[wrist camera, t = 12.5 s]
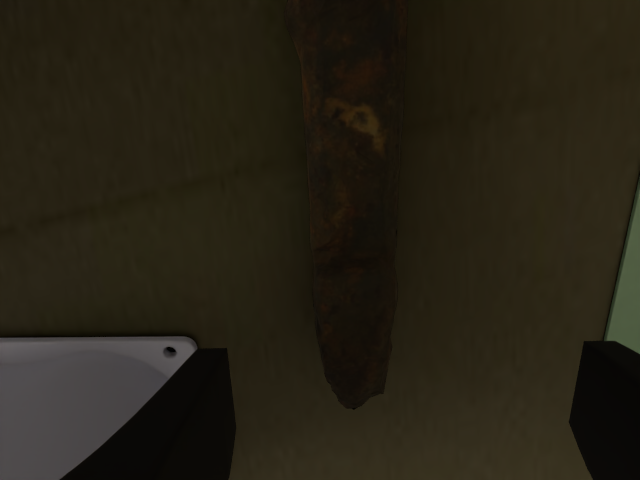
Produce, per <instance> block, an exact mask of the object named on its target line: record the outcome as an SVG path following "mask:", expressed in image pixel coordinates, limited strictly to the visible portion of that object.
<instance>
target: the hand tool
mask: <svg viewBox="0 0 640 480" xmlns="http://www.w3.org/2000/svg"><path fill="white" fill-rule="evenodd" d="M407 14H408V0H288V2H287V5H286V8H285V11H284V16H285V22H286V27H287V29H288V31H289V34H290V36H291V38H292V40H293V42H294V45H295V48H296V51H297V54H298V56H299V59H300V63H301V77H302V98H303V112H304V130H305V143H306V153H307V167H308V189H309V203H310V246H311V250H312V254H313V292H312V295H313V302H314V304H313V306H314V312H315V325H316V332H317V339H318V343H319V347H320V352H321V358H322V363H323V367H324V374H325V377H326V379H327V382H328V383H330V384H331V388H332V391H333V392H334V393H335V394H336V396H337V398H338V401H339V402H340V403H341V404H342V405H343V406H344V407H345V408H347V409H351V408H352V409H353V410H354V409H356V408H358V407H360V406H362V405H363V404H364V403H365V402H366V401H367V400H368V399H369V398H370V397H373V396H375V395H378V394H379V393H381V394H383V393H384V389H385V382H386V377H387V371H388V364H389V360H390V355H391V351H392V344H391V338H390V335H391V331H392V326H393V317H394V313H395V309H396V305H397V300H398V283H397V277H396V271H395V253H396V246H397V209H398V178H399V171H400V150H401V136H402V127H403V114H404V81H405V67H406V34H407Z"/></svg>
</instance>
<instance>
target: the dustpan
mask: <svg viewBox="0 0 640 480" xmlns="http://www.w3.org/2000/svg"><path fill="white" fill-rule="evenodd" d="M604 341H617V342H618V343H620V344H622V345H624V346H626V347H628V348H630V349H632V350H634V351H635V352H637V353H639V354H640V177H639V181H638V186H637V190H636V195H635V200H634V204H633V209H632V213H631V218H630V222H629V227H628V231H627V236H626V241H625V245H624V250H623V254H622V259H621V263H620V268H619V273H618V277H617V282H616V286H615V291H614V295H613V300H612V304H611V309H610V314H609V318H608V323H607V327H606V332H605V336H604Z"/></svg>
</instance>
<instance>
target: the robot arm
mask: <svg viewBox="0 0 640 480" xmlns="http://www.w3.org/2000/svg"><path fill="white" fill-rule="evenodd" d="M166 347H173V348H174V349H175V350H176V352H170V351H168V350H167V348H166ZM569 423H570V426H571V429H572V431H573V434H574V437H575V439H576V442H577V445H578V447H579V450H580V452H581V454H582V457H583V459H584V462H585V464H586V466H587V469H588V471H589V472H590V474H591V476H592V478H593V480H640V354H639V353H637V352H635V351H634V350H632V349H630V348H628V347H626V346H624V345H622V344H620V343H618V342H617V341H584V344H583V350H582V355H581V360H580V366H579V371H578V376H577V382H576V387H575V392H574V398H573V403H572V408H571V414H570V419H569ZM235 432H236V422H235V413H234V405H233V396H232V387H231V379H230V370H229V361H228V353H227V348H213V349H197V345H196V343H195V342H194V340H193V339H191V338H189V337H184V336H170V337H46V338H0V480H228V479H229V475H230V469H231V462H232V455H233V448H234V440H235Z"/></svg>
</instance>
